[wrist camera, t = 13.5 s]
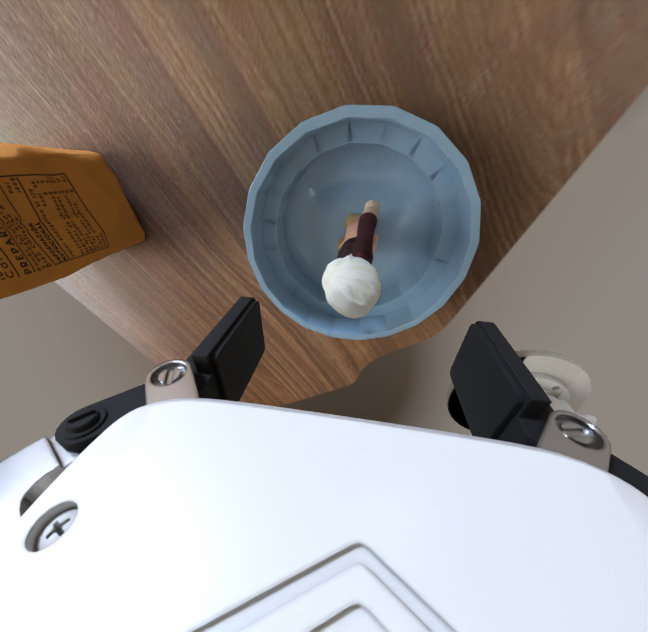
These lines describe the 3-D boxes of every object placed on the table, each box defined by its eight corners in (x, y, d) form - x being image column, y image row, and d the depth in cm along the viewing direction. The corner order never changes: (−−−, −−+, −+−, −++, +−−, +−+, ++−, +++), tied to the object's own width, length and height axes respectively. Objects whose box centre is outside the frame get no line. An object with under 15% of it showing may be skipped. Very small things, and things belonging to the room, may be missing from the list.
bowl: (486, 118, 18) (532, 108, 13) (424, 312, 28) (437, 348, 23) (258, 111, 20) (223, 100, 15) (275, 298, 29) (258, 329, 25)
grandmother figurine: (367, 272, 25) (371, 360, 15) (330, 266, 26) (309, 349, 15) (389, 190, 21) (415, 235, 11) (344, 182, 21) (327, 220, 11)
